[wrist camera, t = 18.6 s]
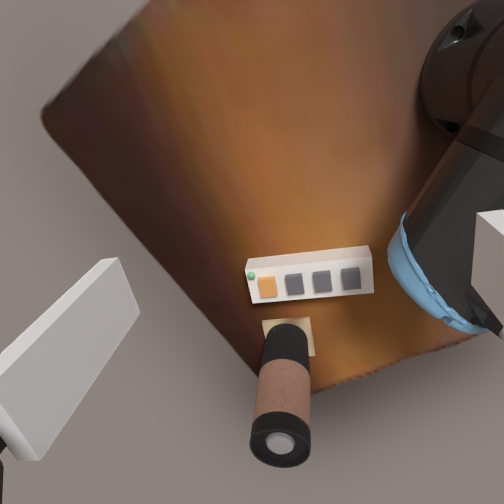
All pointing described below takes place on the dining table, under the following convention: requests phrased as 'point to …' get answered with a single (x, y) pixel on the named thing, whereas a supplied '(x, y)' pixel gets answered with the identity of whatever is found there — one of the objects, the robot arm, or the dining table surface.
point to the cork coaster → (300, 322)
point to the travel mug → (283, 399)
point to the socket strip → (311, 274)
